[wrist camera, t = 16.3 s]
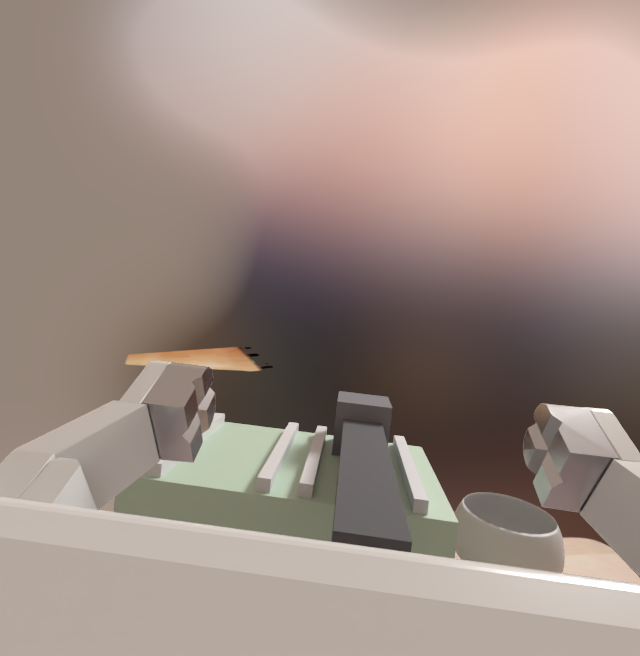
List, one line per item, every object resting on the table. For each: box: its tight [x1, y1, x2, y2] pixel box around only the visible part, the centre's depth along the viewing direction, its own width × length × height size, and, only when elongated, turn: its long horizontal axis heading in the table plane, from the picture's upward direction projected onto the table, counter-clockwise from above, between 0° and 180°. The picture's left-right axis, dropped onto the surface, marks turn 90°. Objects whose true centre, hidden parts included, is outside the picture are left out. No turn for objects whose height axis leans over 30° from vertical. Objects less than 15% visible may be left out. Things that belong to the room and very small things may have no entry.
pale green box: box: [114, 413, 459, 558], centre depth 38 cm, size 16×24×29 cm, turn 85°
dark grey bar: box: [331, 391, 412, 552], centre depth 31 cm, size 25×5×5 cm, turn 175°
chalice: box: [455, 492, 564, 573], centre depth 57 cm, size 14×14×15 cm
